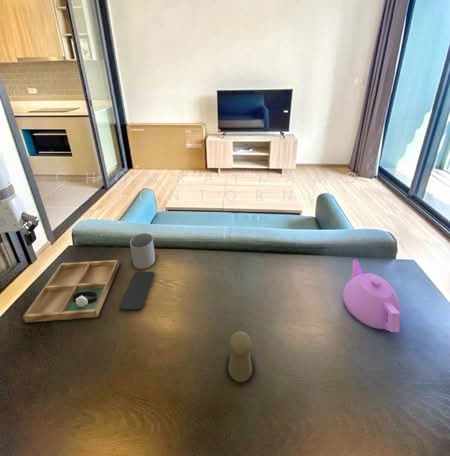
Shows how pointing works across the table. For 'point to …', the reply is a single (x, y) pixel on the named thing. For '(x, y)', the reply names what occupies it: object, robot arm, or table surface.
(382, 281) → the teapot
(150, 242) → the cup
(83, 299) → the watch
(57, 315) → the tray
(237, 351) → the olive pawn figure
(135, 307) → the phone
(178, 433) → the table surface
